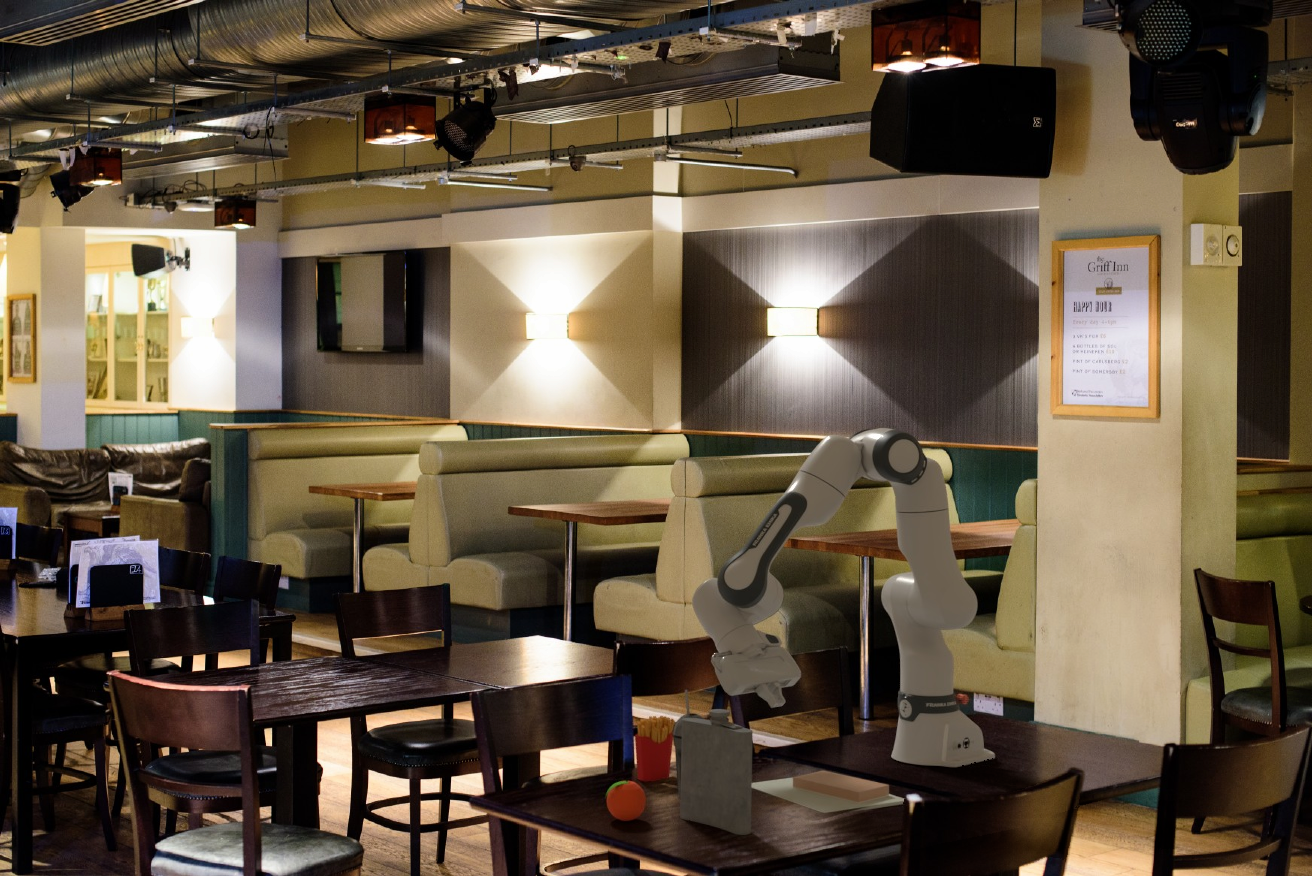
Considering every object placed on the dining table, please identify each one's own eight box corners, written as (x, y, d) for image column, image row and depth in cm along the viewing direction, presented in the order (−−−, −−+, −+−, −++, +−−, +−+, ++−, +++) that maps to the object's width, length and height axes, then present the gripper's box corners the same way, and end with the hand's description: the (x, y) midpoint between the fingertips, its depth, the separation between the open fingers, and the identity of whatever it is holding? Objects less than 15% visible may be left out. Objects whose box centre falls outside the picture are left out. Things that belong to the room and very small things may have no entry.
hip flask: (676, 817, 272) (678, 704, 272) (693, 813, 275) (694, 702, 275) (741, 835, 261) (743, 718, 261) (758, 831, 264) (760, 715, 264)
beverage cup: (706, 802, 284) (708, 694, 283) (667, 799, 285) (669, 692, 285) (712, 793, 291) (714, 687, 291) (675, 790, 292) (676, 686, 292)
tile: (792, 777, 294) (859, 792, 282) (823, 770, 300) (889, 784, 289) (792, 787, 294) (858, 803, 282) (823, 780, 300) (888, 795, 289)
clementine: (615, 828, 264) (616, 786, 264) (593, 819, 270) (594, 779, 270) (653, 821, 269) (654, 781, 269) (630, 813, 275) (631, 773, 275)
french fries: (642, 782, 298) (643, 721, 298) (631, 778, 302) (632, 717, 302) (677, 777, 303) (678, 716, 303) (665, 773, 307) (666, 713, 306)
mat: (824, 776, 307) (824, 773, 307) (908, 803, 285) (908, 799, 285) (742, 787, 296) (742, 784, 296) (823, 816, 275) (823, 812, 275)
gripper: (715, 644, 300) (752, 701, 293) (784, 635, 315) (820, 689, 308) (699, 664, 304) (734, 721, 297) (767, 654, 318) (803, 708, 311)
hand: (779, 705), depth 302 cm, fingers closed
